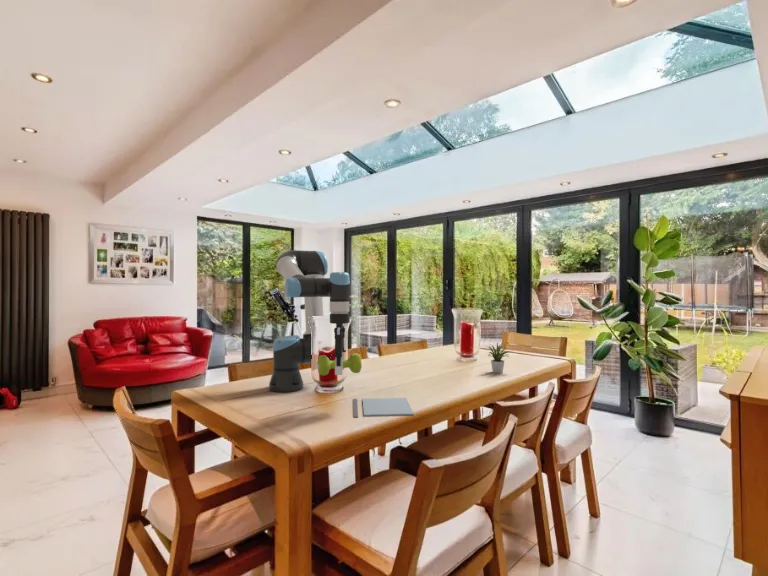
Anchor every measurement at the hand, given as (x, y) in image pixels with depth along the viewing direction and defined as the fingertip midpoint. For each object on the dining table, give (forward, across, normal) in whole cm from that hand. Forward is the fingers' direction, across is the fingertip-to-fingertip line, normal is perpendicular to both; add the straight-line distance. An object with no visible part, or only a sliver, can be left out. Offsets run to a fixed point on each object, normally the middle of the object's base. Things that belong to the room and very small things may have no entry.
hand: (339, 371), depth 150 cm
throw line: (+14, +1, -6) cm, 15 cm away
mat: (+14, +2, -18) cm, 23 cm away
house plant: (+14, +61, -80) cm, 102 cm away
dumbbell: (+1, 0, 0) cm, 1 cm away
